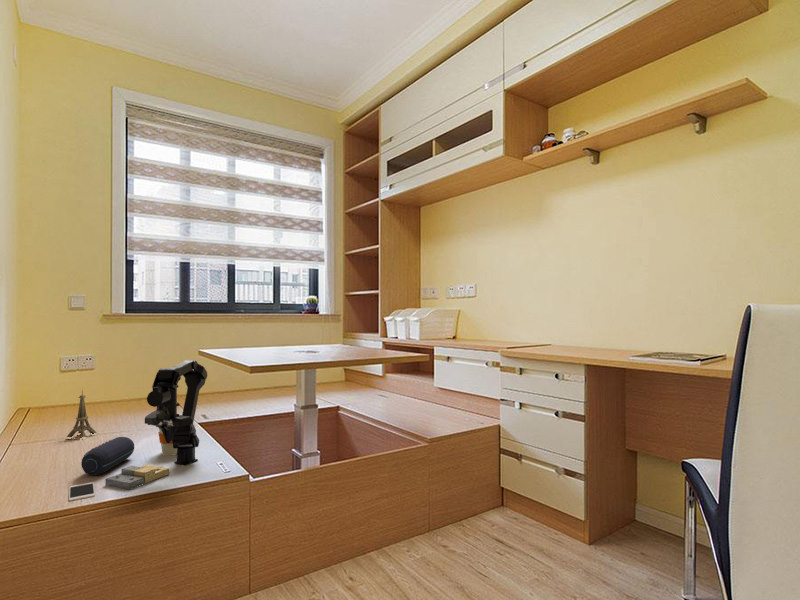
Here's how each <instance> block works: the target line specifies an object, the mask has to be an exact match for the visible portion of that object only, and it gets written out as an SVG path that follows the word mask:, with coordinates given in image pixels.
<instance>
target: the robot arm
mask: <svg viewBox="0 0 800 600" xmlns="http://www.w3.org/2000/svg"><path fill="white" fill-rule="evenodd" d="M182 376H183V378H184V383H185V385H186V387H187V388H186V392H185V394H186V395H185V397H184V398H185V399H184V403H183V409H182V414H181V415H182V417H179V415H180V414H179V413H178V407H180V402H177V401H178V388H179V385H178V383H179V381H181V379H182ZM207 378H208V371H207V370H206V368H205V367H204V366H203V365H202V364H200V363H198V362H197V360H196V359H184V360H182V361H181V362H179V363H177V364H176V365H174V366H172V367H163V368H159V370H158V371H156V375H155V378H154V380H153V383H152V386H151V388H152V390H151V391H150V392H149V393H148V394H147V397H146V402H147V404H148V405H149V406H151V407H156V410H154V411H151V413H149V414H148V415H146V416H145V418H144V424H146V425H147V426H155V427H156V428H158V429H159V428H160V429H161V430H162V432H163V435H164V438H165V440H166V443H170V442H171V440H172V443H173V448H174V449H175V448H177V454H176V460H175V461H174V464H176V465H183V466H186V465H190V464H192V463H195V462H198V461H199V458H198V459H197V458H196V448H198V447H199V445H200V438H199V437H198V436H197V429H196V426H195V424H194V423H195V422H194V421H195V417H196V415H195V414H196V410H197V405H198V401H199V394H200V390H201V388H203V386H204V385H205V383H206V380H207ZM176 417H178V418H176Z"/></svg>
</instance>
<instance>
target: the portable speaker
mask: <svg viewBox="0 0 800 600" xmlns="http://www.w3.org/2000/svg"><path fill="white" fill-rule="evenodd" d="M134 451H135V443H134V441H133V440H132V439H131V438H130V437H127V436H117V437H115V438H112V439H110V440H108V441H105V442H103V443H101V444H99V445H98V446H95V447H94V448H91V449H90V450H89V451H87V452H86V453H85V454H84V455H83V457H82V458H81V468H82V471H83V472H84V474H87V475H89V476H99V475H102V474H103V473H105V472H107V471H108V470H110V469H112V468H114V467H116V466H117V465H119V464H121V463H122V462H124V461H126V460H127V459H129V458H130V457H131V456H132V455H133V453H134Z"/></svg>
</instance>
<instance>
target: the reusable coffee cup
mask: <svg viewBox="0 0 800 600" xmlns="http://www.w3.org/2000/svg"><path fill="white" fill-rule="evenodd" d="M179 417H182V414H179ZM176 418H178V417H176ZM158 430H159V431H158V438H159V439H158V440H159V443H160V445H161V454H162V455H163V454H164V456H173V455H172V454H176V455H177V448H175V449H174V448H173V443H172V440H171V442H170V443H166V440H165V438H164V435H163V432H162V430H161V429H160V428H158Z"/></svg>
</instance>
